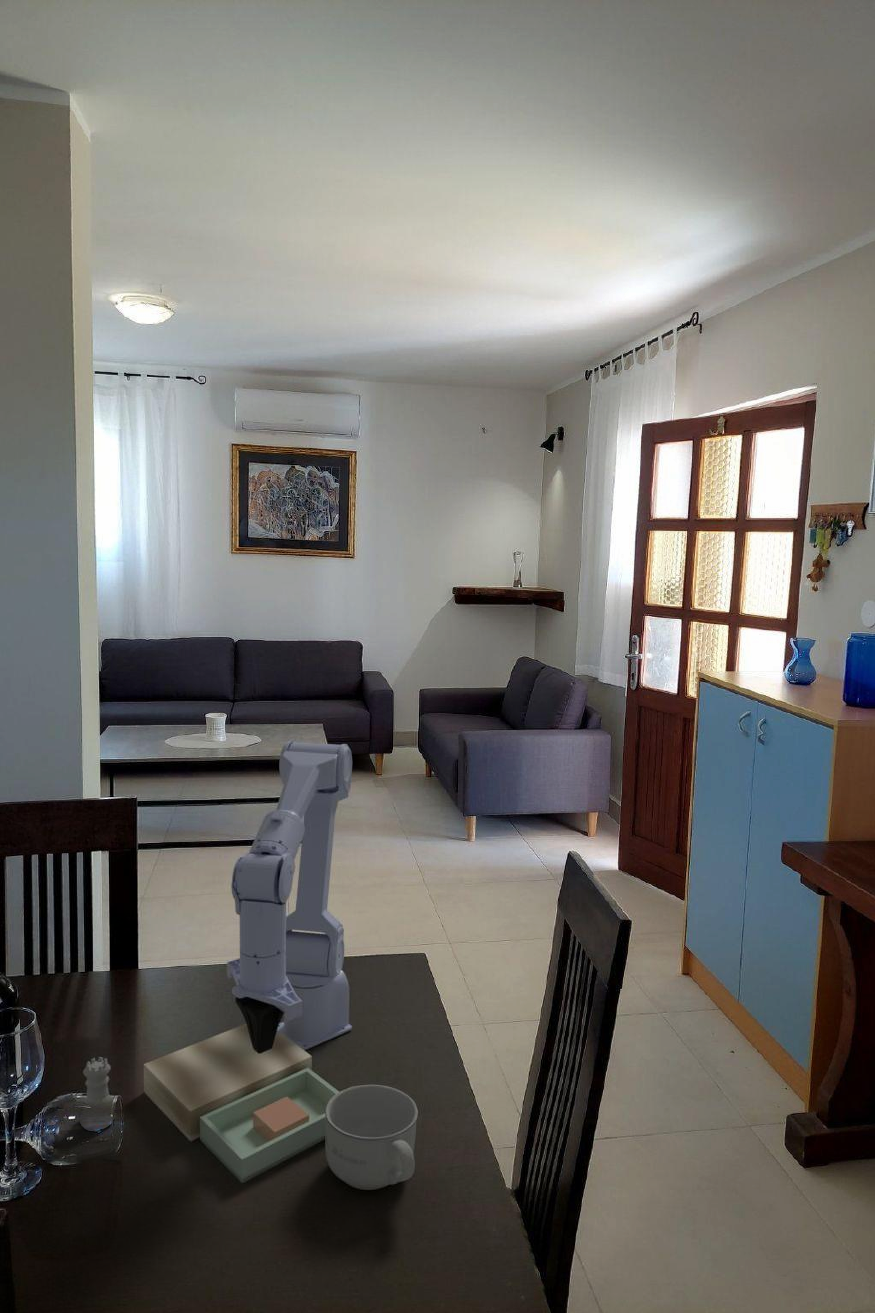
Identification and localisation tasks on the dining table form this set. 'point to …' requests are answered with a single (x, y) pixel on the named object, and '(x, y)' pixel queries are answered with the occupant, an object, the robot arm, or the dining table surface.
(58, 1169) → the dining table surface
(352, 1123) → the teacup
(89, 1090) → the rook chess piece
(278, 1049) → the beige banded block
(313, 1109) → the box
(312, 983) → the robot arm
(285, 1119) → the tile
